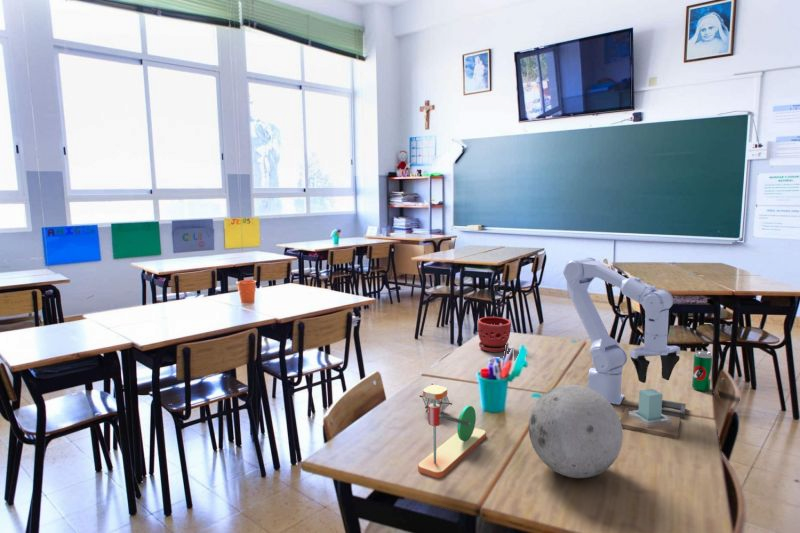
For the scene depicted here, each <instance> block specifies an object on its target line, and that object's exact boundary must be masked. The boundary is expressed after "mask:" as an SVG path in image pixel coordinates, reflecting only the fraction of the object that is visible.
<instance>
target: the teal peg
mask: <svg viewBox="0 0 800 533" xmlns="http://www.w3.org/2000/svg"><path fill="white" fill-rule="evenodd" d="M638 391H639V396H638V409H637V410H638V415H640V416H641V417H643V418H645V419H646V420H648V421H650V420H657V419H661V412H662V408H663V406H662V400H663V393H661V392H659V391H657V390H655V389H653V388H649V389H648V388H647V389H640V390H638Z"/></svg>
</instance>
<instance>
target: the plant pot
mask: <svg viewBox="0 0 800 533" xmlns="http://www.w3.org/2000/svg"><path fill="white" fill-rule="evenodd" d="M511 327H512V322H511V320H509V319H507V318H505V317H499V316H485V317H484V316H483V317H481V318H479V319H478V321H477V333H478V338H479V340H480V342H478V346H479V348H480V349H481V350H483V351H486V352H491V353H499V352H503V351H505V350H504V349H505V345H506V343H507V344H508V341H509V338H510V334H511V329H512V328H511Z"/></svg>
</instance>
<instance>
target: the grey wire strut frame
mask: <svg viewBox="0 0 800 533" xmlns="http://www.w3.org/2000/svg"><path fill="white" fill-rule="evenodd" d="M431 385H434V384H433V383H431ZM419 398H421V399H422V402H423V403H424V409H426V410H425V413H428V412H429V408H428V406H429V405H430V404H433V399H429V398H425V397H424V396H423V395H419ZM436 404H439V405H440V414H442V412H443V411H444V410H445V409H446V408H448V406H449V405H450V406H452V405H453V403H452V402H450V400H449V398H448V394H447V395H446V396H445V397H444V398H442V399H440V400H436Z"/></svg>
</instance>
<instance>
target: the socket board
mask: <svg viewBox="0 0 800 533" xmlns="http://www.w3.org/2000/svg"><path fill="white" fill-rule="evenodd" d="M638 410H639V409H637V408H636V409H635V408H631V407H625V408H624V410H623V412H622V414H621V417H620V418H619V419H620V422H621V426H622V429H626V430H631V431H637V432H640V433H641V432H642V433H646V434H651V435H656V436H661V437H665V438H669V439H670V438H671V439H676V440H677V439H678V435H679V431H680V425H681V424H680V423H681V418H680V417H674V416H669V415H663V414H662V413H661V419H657V420H650V421H648V420H646V419H645V418H643V417H641V416H640V415H638Z"/></svg>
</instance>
